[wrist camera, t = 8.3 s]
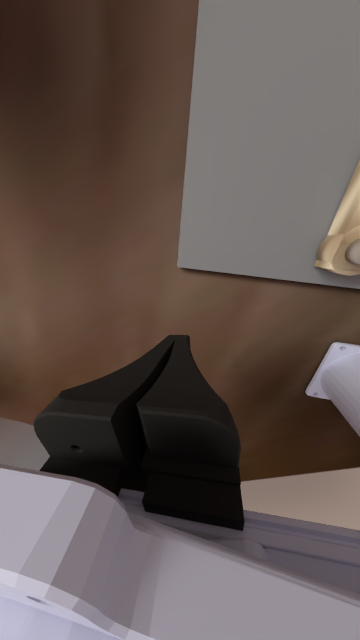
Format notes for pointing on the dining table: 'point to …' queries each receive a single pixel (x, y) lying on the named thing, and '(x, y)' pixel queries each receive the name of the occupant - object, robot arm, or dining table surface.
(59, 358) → the dining table surface
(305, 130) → the base plate
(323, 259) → the link
